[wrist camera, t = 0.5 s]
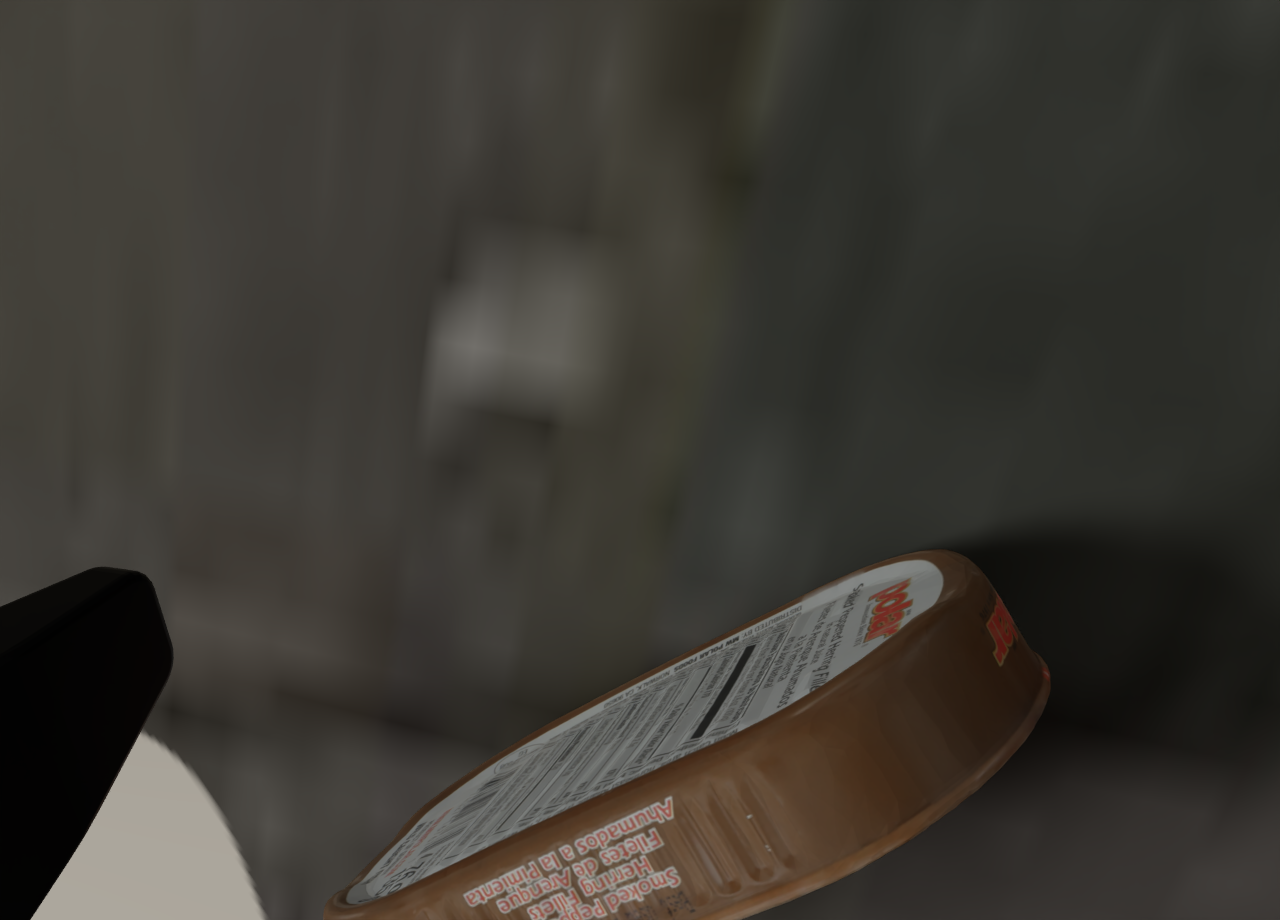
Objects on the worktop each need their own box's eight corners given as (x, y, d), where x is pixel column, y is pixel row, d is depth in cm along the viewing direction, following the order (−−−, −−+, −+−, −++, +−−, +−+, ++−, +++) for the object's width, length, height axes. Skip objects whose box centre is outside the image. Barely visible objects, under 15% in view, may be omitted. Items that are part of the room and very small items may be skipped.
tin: (487, 864, 30) (313, 1127, 22) (418, 761, 30) (217, 988, 22) (1048, 605, 24) (1083, 830, 17) (970, 475, 24) (967, 641, 16)
